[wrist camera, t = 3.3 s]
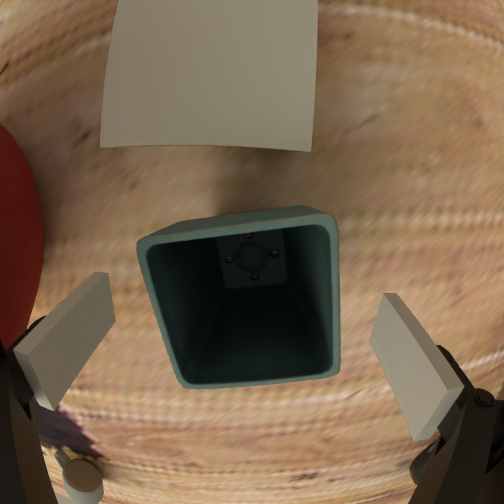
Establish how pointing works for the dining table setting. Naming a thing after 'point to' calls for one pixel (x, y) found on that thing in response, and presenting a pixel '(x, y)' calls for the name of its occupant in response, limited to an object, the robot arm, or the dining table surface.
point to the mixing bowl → (18, 240)
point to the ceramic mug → (81, 479)
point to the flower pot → (247, 297)
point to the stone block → (211, 74)
